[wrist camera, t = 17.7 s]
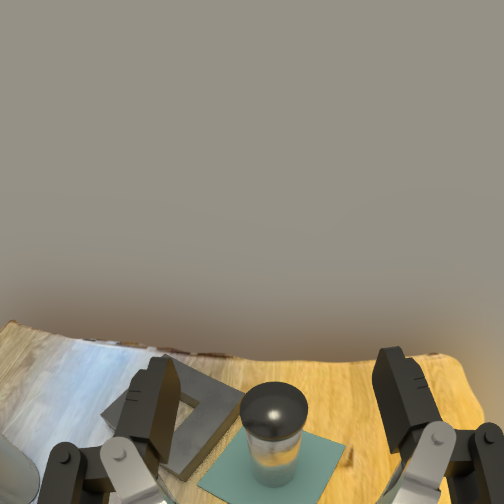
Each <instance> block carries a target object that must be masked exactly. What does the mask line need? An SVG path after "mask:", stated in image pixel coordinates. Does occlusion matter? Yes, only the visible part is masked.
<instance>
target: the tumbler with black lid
mask: <svg viewBox="0 0 504 504" xmlns="http://www.w3.org/2000/svg"><path fill="white" fill-rule="evenodd" d="M307 414H308V403H307V400H306V398H305V396H304V395H303V393H302V392H301V391H300V390H299V389H297V388H296V387H294V386H292V385H290V384H287V383H283V382H266V383H262V384H259V385H257V386H255V387H253V388H252V389H250V390H249V391H248V392H247V393H246V394H245V396H244V397H243V399H242V401H241V404H240V416H241V421H242V424H243V426H244V428H245V431H246V437H247V443H248V448H249V454H250V460H251V465H252V471H253V475H254V477H255V479H256V480H257V481H258V482H259V483H260V484H262V485H264V486H266V487H271V488H276V487H281V486H284V485H286V484H287V483H289V482H290V481H291V480H292V479H293V477H294V475H295V472H296V466H297V460H298V455H299V449H300V443H301V437H302V430H303V427H304V425H305V423H306V419H307Z"/></svg>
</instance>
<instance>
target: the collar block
mask: <svg viewBox="0 0 504 504" xmlns="http://www.w3.org/2000/svg"><path fill="white" fill-rule="evenodd" d="M162 357H170V356H168V355H167V354H164V355H163V356H162ZM170 358H172V357H170ZM172 360H173V363H174V366H175V369H176V371H177V374H178V377H179V380H180V384H181V394H180V400H181V401H183V402H185V403H186V404H188V405H190V406H192V407H193V408H195V409H194V410H193V412H192V413H191V414H190V415H189V416H188V417H187V418H186V419H185V421H184V422H183V423H182V424H181V425H180V426H179V427H178V428H177V430H176V431H175V432H174V433H173V438H172V443H171V449H170V455H169V461H168V464H161V463H159V465H160V466H161V467H163V468H164V469H166V470H167V471H169V472H170V473H172V474H173V475H175V476H176V477H178V478H179V479H181V480H182V481H184V482H186V481H187V479H188V478H189V477H190V476H191V475H192V474H193V472H194V471H195V470H196V469H197V468H198V466H199V465H200V464H201V463H202V462H203V460H204V459H205V458H206V457H207V455H208V454H209V453H210V452H211V451H212V449H213V448H214V447H215V446H216V444H217V443H218V442H219V440H220V439H221V438H222V437H223V435H224V434H225V433H226V432H227V430H228V429H229V428H230V426H231V425H232V424H233V422H234V421H235V420H236V419H237V417H238V416H239V415H240V404H241V401H242V399H243V397H244V396H245V393H243V392H241V391H239V390H236V389H234V388H232V387H230V386H228V385H226V384H224V383H221V382H219V381H217V380H215V379H213V378H211V377H209V376H207V375H205V374H203V373H201V372H199V371H197V370H195V369H193V368H191V367H189V366H187V365H185V364H183V363H182V362H180V361H178V360H176V359H174V358H172ZM128 389H129V388H128ZM128 389H127V390H126V391H125V392H124V393H123V394H122V395H121V396H120V397H119V398H117V399H116V400H115V401H114V402H113V403H112V404H111V405H110V406H109V407H108V408H107V409H106V410H105V411H104V412H103V413H101V414H100V415H101V417H102V418H103V419H104V420H105V422H106V423H107V424H108V426H110V427H111V428H112V429H113V430H114V431H116V428H117V425H118V421H119V418H120V415H121V411H122V408H123V405H124V402H125V401H126V399H125V398H126V395H127V392H128Z"/></svg>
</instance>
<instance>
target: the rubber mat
mask: <svg viewBox="0 0 504 504" xmlns="http://www.w3.org/2000/svg"><path fill="white" fill-rule="evenodd" d="M344 448H345V445H342V444H339V443H336V442H333V441H331V440H328V439H325V438H322V437H319V436H316V435H314V434H311V433H308V432H306V431H303V430H302V437H301V443H300V449H299V455H298V460H297V466H296V472H295V475H294V477H293V479H292V480H291V481H290V482H289V483H287V484H286V485H284V486H281V487H276V488H271V487H266V486H264V485H262V484H260V483H259V482H258V481H257V480H256V479H255V477H254V475H253V471H252V465H251V460H250V454H249V448H248V443H247V437H246V431H245V428H244V426H242V427H241V429H240V430H239V432H238V433H237V434H236V436H235V437H234V438H233V439H232V441H231V442H230V443H229V445H228V446H227V447H226V449H225V450H224V451H223V453H222V454H221V455H220V456H219V458H218V459H217V460H216V461H215V463H214V464H213V465H212V466H211V468H210V469H209V470H208V471H207V473H206V474H205V475H204V476H203V478H202V479H201V480H200V481H199V482H198V484H197V486H199V487H201V488H202V489H204V490H206V491H207V492H209V493H211V494H213V495H214V496H216V497H218V498H220V499H222V500H224V501H225V502H227V503H229V504H316V503H317V501H318V499H319V498H320V496H321V494H322V492H323V490H324V488H325V487H326V485H327V483H328V481H329V479H330V477H331V475H332V473H333V471H334V469H335V467H336V465H337V463H338V461H339V459H340V457H341V455H342V453H343V451H344Z"/></svg>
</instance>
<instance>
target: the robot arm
mask: <svg viewBox="0 0 504 504" xmlns="http://www.w3.org/2000/svg"><path fill="white" fill-rule="evenodd" d="M372 385H373V389H374V393H375V396H376V400H377V403H378V407H379V410H380V414H381V418H382V422H383V425H384V429H385V433H386V437H387V441H388V445H389V449H390V453H391V454H394V453H399V452H400V456H401V459H400V461H399V463H398V465H397V467H396V469H395V471H394V473H393V475H392V477H391V479H390V480H389V482H388V484H387V486H386V488H385V490H384V491H383V493H382V495H381V496H380V498H379V499H378V501H377V502H376V503H375V504H437V503H438V501H439V498H440V495H441V490H439V486H440V483H441V481H442V479H443V477H446V479H447V483H448V488H449V493H450V499H451V504H504V435H503V432H502V430H501V429H500V427H499V426H497V425H496V424H494V423H490V422H489V423H484V424H482V425H480V426H479V427H478V428H477V429H476V430H457V429H453V427H452V426H451V425H449V424H448V423H446V422H443V420H442V418H441V416H440V414H439V411H438V408H437V406H436V403H435V401H434V398H433V396H432V393H431V391H430V388H428V383H427V381H426V379H425V376H424V374H423V371H422V369H421V367H420V365H419V364H418V363H417V362H416V361H415V360H414V359H413V358H412V357H411V358H405V356H404V354H403V351H402V349H401V348H400V347H399V346H396V347H389V348H382V349H380V351H379V354H378V357H377V360H376V363H375V366H374V369H373V373H372ZM180 394H181V384H180V380H179V377H178V374H177V371H176V369H175V366H174V363H173V360H172V358H170V357H152V358H151V359H150V362H149V365H148V368H147V370H143V369H140V370H139V371H138V372H137V373H136V374H135V376H134V377H133V378H132V380H131V383H130V386H129V389H128V392H127V395H126V398H125V399H126V401H125V402H124V405H123V408H122V411H121V415H120V418H119V421H118V425H117V428H116V431H115V434H114V436H113V437H112V438H111V439H109V440H107V441H106V442H105V443H104V444H103V445H102V446H98V447H90V448H79V449H78V448H77V447H76V446H75V445H74V444H72V443H70V442H61V443H59V444H57V445H55V446H54V447H53V449H52V450H51V452H50V455H49V459H48V462H47V466H46V469H45V473H44V477H43V481H42V485H41V489H40V493H39V497H38V502H37V504H108V503H109V496H110V492H117V494H118V496H119V498H120V500H121V502H122V504H178V503H177V502H176V500H175V499H174V497H173V496H172V494H171V493H170V491H169V490H168V488H167V486H166V485H165V483H164V482H163V480H162V479H161V477H160V475H159V474H158V467H159V463H161V464H168V461H169V455H170V449H171V443H172V438H173V432H174V426H175V421H176V415H177V410H178V405H179V400H180ZM38 488H39V474H38V471H37V468H36V466H35V465H34V463H33V462H32V461H31V460H30V459H29V458H28V457H27V456H26V455H25V454H24V453H22V452H21V451H20V450H19V449H17V448H16V447H15V446H14V445H13V444H12V443H11V442H10V441H9V440H7V439H6V438H5V437H4V436H3V435H2V434H1V433H0V504H29V503H30V502H31V501H32V500H33V499H34V497H35V496H36V494H37V492H38Z"/></svg>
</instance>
